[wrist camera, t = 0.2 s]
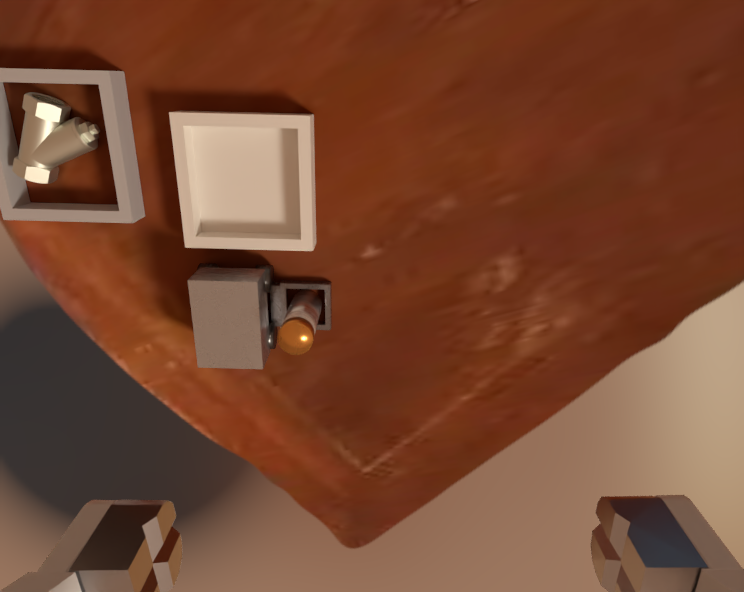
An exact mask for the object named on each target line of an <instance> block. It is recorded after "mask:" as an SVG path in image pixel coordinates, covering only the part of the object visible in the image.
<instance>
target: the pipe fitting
mask: <svg viewBox="0 0 744 592" xmlns="http://www.w3.org/2000/svg"><path fill="white" fill-rule="evenodd" d="M22 108H23V109H24V110H25V111H26V112H25V118H24V124H23V130H22V136H21V142H20V148H19V154H18V156H17V157H15V158H14V161H13V168H12V171H13V172H14V173H15V174H16V175H17V176H19V177H21V178H23V179H25V180H28V181H32V182H36V183H43V184H48V183H53V182H54V181H56V180H57V178H58V172H59V167H58V165H60V164H63V163H65V162H67V161H69V160H72V159H74V158H76V157H78V156H81V155H83V154H85V153H87V152H90V151H92V150H94V149H96V148H97V147H98V140H97V139H98V138H99V132H100V128H99V127H98V126H97V125H96V124H92V123H91V122H86V121H85V120H83V119H82V118H80V117H75V118H73V119H70V120H69V116H70V111H71V107H70V106H69V105H68V104H67V103H65V102H64V101H62V100H59V99H57V98H54V97H51V96H48V95H45V94H41V93H35V92H29V93H26V94H24V99H23V106H22Z"/></svg>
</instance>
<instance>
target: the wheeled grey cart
mask: <svg viewBox="0 0 744 592" xmlns="http://www.w3.org/2000/svg"><path fill="white" fill-rule="evenodd" d="M188 289H189V297H190V305H191V313H192V322H193V330H194V338H195V347H196V355H197V363H198V367H202V368H238V369H263V368H264V366H265V363H266V361H267V358H268V356H269V353H270V349H275V347H276V343H277V326H281V325H282V323H283V320H284V318H285V316H286V313H287V311H288V293H287V289H321V290H325V321H318V323H317V327H316V330H331V282H329V281H291V280H282V281H281V283H274V268H273V266H272V265H256V268H255V269H248V268H218V265H217V264H204V263H201V264H199V266H198V269H197V271H196V272H195V273H194V274H193V275H192V276H191V277H190V278H189V279H188ZM267 292H270V303H271V321H272V323H269V320H268V303H267Z"/></svg>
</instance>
